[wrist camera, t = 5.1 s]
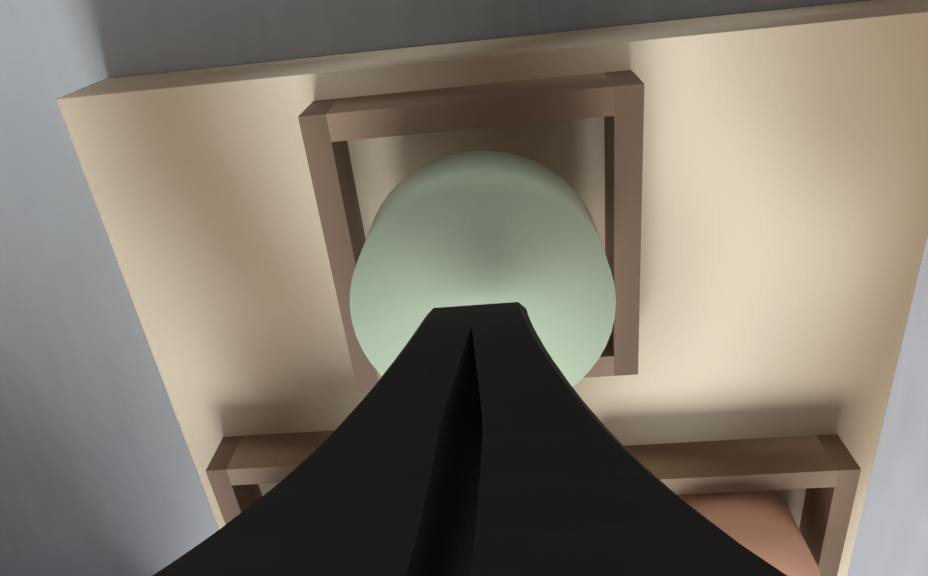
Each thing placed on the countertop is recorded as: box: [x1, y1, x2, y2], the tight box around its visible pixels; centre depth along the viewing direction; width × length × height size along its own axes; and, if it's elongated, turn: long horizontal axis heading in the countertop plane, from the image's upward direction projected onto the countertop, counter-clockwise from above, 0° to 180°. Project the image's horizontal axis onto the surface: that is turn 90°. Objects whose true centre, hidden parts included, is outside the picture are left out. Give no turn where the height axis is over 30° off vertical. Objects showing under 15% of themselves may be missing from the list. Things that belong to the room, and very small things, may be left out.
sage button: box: [350, 150, 616, 387], centre depth 12 cm, size 4×4×2 cm
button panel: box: [56, 0, 928, 576], centre depth 17 cm, size 17×16×3 cm
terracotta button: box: [678, 490, 821, 576], centre depth 17 cm, size 4×4×2 cm
